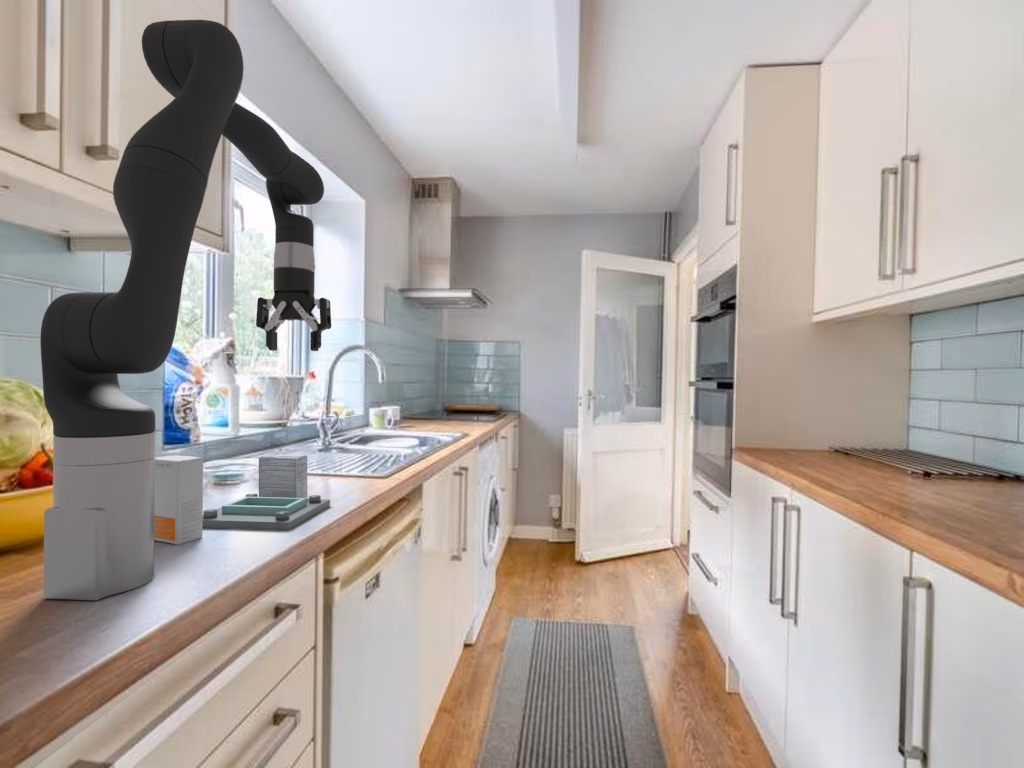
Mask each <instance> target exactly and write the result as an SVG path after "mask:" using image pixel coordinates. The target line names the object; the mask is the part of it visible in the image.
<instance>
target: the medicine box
mask: <svg viewBox="0 0 1024 768" xmlns="http://www.w3.org/2000/svg"><path fill="white" fill-rule="evenodd" d="M308 494H309V493H308V455H307V454H292V453H291V454H283V453H282V454H276V453H275V454H274V453H271V454H270V453H269V454H265V455H263V456H260V457H258V497H287V498H307V499H308Z"/></svg>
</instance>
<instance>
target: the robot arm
mask: <svg viewBox="0 0 1024 768" xmlns="http://www.w3.org/2000/svg"><path fill="white" fill-rule="evenodd" d="M141 49H142V53H143V54H142V55H143V57H144V60H145V63H146V65H147V67H148V69H149V71H150V72H151V74H152V76H153V77H154V79H155V80H156V82H157V83H158V84H159V85H160V86H161V87H162V88H163V89H164V90H166V92H167V93H169V94H170V95H171V96H172V97H173V98H174V99H173V100H171V102H169V103H168V104H167V105H165V107H163V108H162V109H161V110H160V111H158V112H157V113H156V114H154V115H153V116H152V117H151V118H150V119H148V120H147V121H146V122H145V123H144V124H143V125H142V126H141V127H139V129H138V130H137V131H136V132H135V133H134V134H133V135H132V137H130V139H129V141H128V142H127V145H126V146H125V148H124V151H123V153H122V156H121V160H120V162H119V165H118V167H117V168H118V169H117V171H116V174H115V177H114V180H113V185H112V186H113V187H112V189H113V190H112V194H113V195H112V196H113V200H114V205H115V208H116V211H117V212H118V213H117V214H118V215H119V218H120V220H121V222H122V224H123V227H124V229H125V231H126V234H127V235H128V236H127V237H128V238H129V242H130V248H131V254H130V260H129V264H128V268H127V272H126V275H125V278H124V281H123V283H122V285H121V287H120V289H119V290H118V291H117V292H116V291H114V292H113V291H105V292H102V291H98V292H97V291H96V292H92V291H90V292H89V291H87V292H85V291H82V292H69V293H66V294H63V295H62V294H61V295H60V296H58V297H56V298H55V299H54V300H52V302H51V303H49V305H48V307H47V308H46V310H45V312H44V314H43V318H42V321H41V327H40V340H39V341H40V359H41V360H40V361H41V372H42V373H41V375H42V376H41V377H42V390H43V401H44V406H45V409H46V411H47V412H46V413H48V415H49V417H50V419H51V422H52V427H53V428H52V434H53V437H52V439H53V440H52V443H53V444H52V445H53V447H52V450H53V451H52V452H53V453H52V454H53V455H52V461H53V462H52V463H53V464H52V506H51V507H48V508H46V509H45V510H44V512H43V599H52V600H53V599H55V600H78V601H79V600H81V601H98V600H101V599H103V598H105V597H108V596H112V595H116V594H120V593H125V592H126V591H129V590H133V589H135V588H138V587H140V586H143V585H145V584H146V583H148V582H150V581H152V579H154V577H155V540H154V533H155V458H156V413H155V410H153V408H152V407H151V406H149V405H147V404H144V403H142V402H140V401H137V400H135V399H133V398H131V397H130V396H128V394H126V393H125V392H124V390H122V389H121V387H120V383H119V377H118V375H122V374H124V375H129V374H130V375H135V374H136V375H140V374H148V373H152V372H154V371H156V370H157V369H158V368H160V367H161V366H162V365H163V364H164V362H165V361H166V360H167V358H168V356H169V355H170V352H171V349H172V347H173V343H174V340H175V335H176V331H177V325H178V317H179V311H180V303H181V297H182V290H183V289H182V288H183V285H184V284H183V281H184V275H185V270H186V266H187V261H188V258H189V252H190V248H191V245H192V241H193V237H194V232H195V228H196V224H197V221H198V218H199V215H200V214H201V213H200V212H201V210H202V206H203V203H204V200H205V199H204V198H205V196H206V191H207V189H208V184H209V179H210V173H211V170H212V167H213V163H214V160H215V156H216V154H217V149H218V147H219V144H220V141H221V137H222V136H223V137H224V138H225V139H227V140H228V141H229V142H230V143H231V144H232V145H233V146H234V147H235V148H236V149H237V150H238V151H240V153H241V154H242V155H243V156H244V157H245V158H246V160H248V161H249V163H250V164H251V165H252V166H253V167H254V168H255V169H256V171H257V172H258V173H259V174H260V175H261V176H262V177H264V178H265V187H266V192H267V196H268V198H269V202H270V206H271V210H272V214H273V219H274V225H275V233H274V234H275V239H274V240H275V243H274V244H275V246H274V253H273V293H274V295H273V297H272V299H271V298H265V297H258V298H257V301H256V302H257V303H256V316H255V317H256V320H255V325H256V327H257V328H259V329H262V330H264V331H265V346H266V348H267V349H268V351H273V352H274V351H278V332H277V330H278V329H279V328H280V326H281V325H282V324H284V322H286V321H292V322H293V321H303V322H305V323H306V324H307V325H308V326H309V328H310V329H311V331H310V346H309V347H310V348H309V349H310V351H312V352H319V349H321V347H322V333H323V332H324V331H326V330H330V329H331V328H332V314H331V310H332V309H331V301H330V300H329V299H328V298H325V297H320V298H318V299H317V298H315V270H316V265H315V252H314V250H315V249H314V241H315V240H314V234H315V233H314V231H315V229H314V223H313V221H312V219H310V218H309V217H308V216H305V215H302V214H299V213H294V212H292V209H291V207H292V206H303V205H304V206H309V205H316V204H317V203H319V202H320V201H321V200H322V198H323V197H324V194H325V185H324V181H323V179H322V177H321V175H320V174H319V172H318V170H317V169H315V167H314V166H313V165H311V164H310V162H308V161H306V160H305V159H303V158H302V157H301V156H300V155H298V154H297V153H295V152H294V151H292V150H291V149H290V148H289V146H288V145H287V144H286V142H285V141H284V140H283V138H282V137H281V135H280V134H279V133H278V131H277V130H276V129H275V128H274V127H273V126H272V125H271V124H270V123H268V122H267V121H266V120H264V118H262V117H260V116H259V115H257V114H255V113H254V112H252V111H251V110H249V109H247V108H246V107H244V106H243V105H241V104H239V103H238V102H237V99H238V97H239V94H240V92H241V89H242V85H243V79H244V68H245V67H244V58H243V53H242V48H241V45H240V43H239V41H238V39H237V37H236V36H235V35H234V33H233V32H232V31H231V30H230V29H229V28H228V27H227V26H225V25H224V24H222V23H221V22H217V21H214V20H208V19H176V20H161V21H156V22H152V23H151V22H150V24H147V26H146V27H145V28H144V30H143V33H142V36H141ZM272 306H273V308H274V309H275V310H274V312H273V313H272V314H271V316H270V311H271V310H272ZM315 307H316V308H317V309H318V310H319V321H320V323H319V321H318V319H317V317H316V315H315V314H314V313H313V310H314V309H315ZM269 316H270V317H269Z"/></svg>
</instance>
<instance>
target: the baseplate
mask: <svg viewBox="0 0 1024 768" xmlns="http://www.w3.org/2000/svg"><path fill="white" fill-rule="evenodd" d="M321 497H322V496H321V495H320V494H313V495H310V496H309V497H307V498H287V497H259V493H256V492H255V493H247V494H246V493H245V496H243V497H242V498H238V499H237V500H234V501H231V502H229V503H226V504H224V505H222V506H221V507H219V508H210V509H209V508H208V509H205V510H204V509H203V521H202V522H203V527H202V529H203V528H206V529H207V528H209V529H236V530H237V529H241V530H243V529H244V530H270V531H271V530H272V531H274V530H275V531H289V530H291V529H293V528H294V527H296V526H298V525H300V524H301V523H303V522H305V521H307V520H308V519H310V518H312V517H313V516H315V515H317V514H318V513H320V512H322V511H324V510H326V509H327V508H329V507H330V506H331V499H328V498H327V499H322V498H321Z"/></svg>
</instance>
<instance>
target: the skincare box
mask: <svg viewBox="0 0 1024 768" xmlns="http://www.w3.org/2000/svg"><path fill="white" fill-rule="evenodd" d="M203 482H204V457H199V456H192V455H175V454H174V455H173V454H171V455H166V456H158V457H157V456H155V533H154V541H157V542H162V543H167V544H173V545H175V546H178V545H179V546H180V545H182V544H185V543H187V542H191V541H192V542H193V541H195V540H198V539H201V538H203V528H202V527H203V522H202V521H203V511H204V509H203V506H204V505H203V501H204V499H203V498H204V497H203V496H204V494H203V493H204V492H203V491H204V490H203V489H204V488H203V486H204V483H203Z"/></svg>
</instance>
